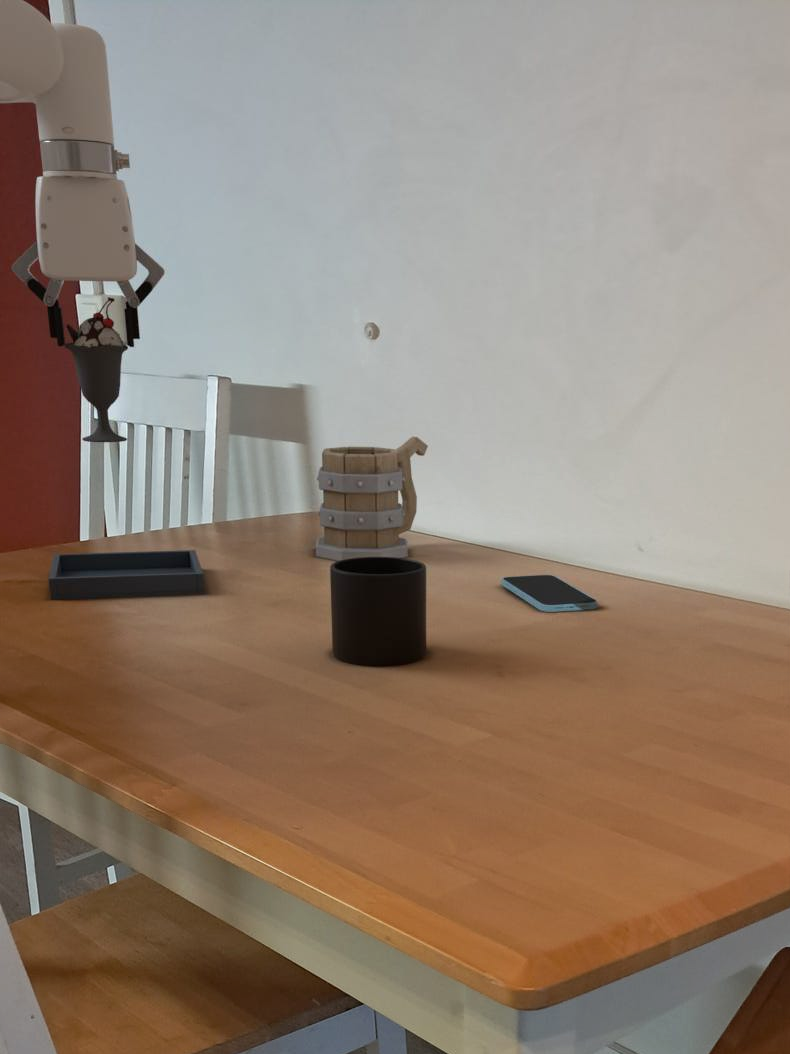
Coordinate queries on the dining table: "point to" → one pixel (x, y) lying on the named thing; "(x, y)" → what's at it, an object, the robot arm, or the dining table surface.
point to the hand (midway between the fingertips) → (96, 344)
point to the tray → (125, 574)
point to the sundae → (98, 368)
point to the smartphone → (549, 593)
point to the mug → (378, 610)
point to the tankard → (367, 501)
